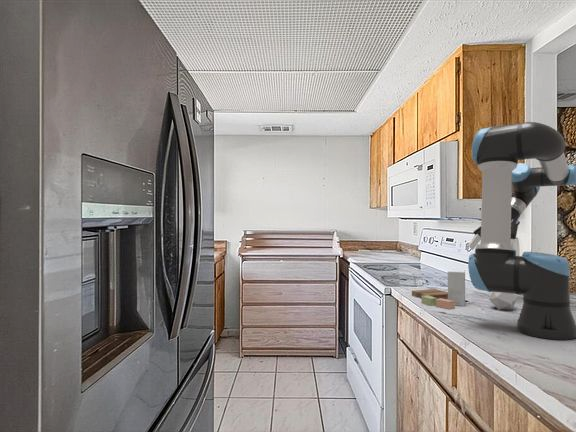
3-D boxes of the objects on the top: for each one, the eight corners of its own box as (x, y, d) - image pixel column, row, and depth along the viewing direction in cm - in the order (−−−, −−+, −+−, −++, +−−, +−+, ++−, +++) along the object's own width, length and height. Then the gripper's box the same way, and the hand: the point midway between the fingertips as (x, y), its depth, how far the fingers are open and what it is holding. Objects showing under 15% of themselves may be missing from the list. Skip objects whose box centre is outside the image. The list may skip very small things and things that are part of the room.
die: (515, 314, 144) (524, 291, 147) (493, 301, 145) (502, 279, 148) (504, 317, 151) (512, 294, 154) (482, 305, 153) (491, 283, 156)
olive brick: (437, 305, 157) (436, 298, 157) (430, 306, 156) (430, 298, 156) (428, 302, 162) (428, 295, 162) (421, 303, 162) (421, 295, 162)
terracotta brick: (454, 308, 151) (454, 300, 151) (449, 310, 150) (449, 301, 150) (440, 306, 156) (440, 298, 156) (436, 307, 155) (435, 299, 155)
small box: (465, 306, 154) (465, 272, 154) (447, 305, 157) (447, 271, 157) (465, 302, 162) (464, 269, 162) (448, 300, 164) (447, 268, 164)
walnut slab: (453, 298, 168) (453, 293, 168) (428, 300, 165) (428, 295, 165) (435, 293, 180) (435, 288, 180) (411, 295, 176) (411, 290, 176)
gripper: (543, 217, 156) (513, 258, 152) (493, 216, 180) (466, 252, 176) (532, 204, 154) (501, 245, 150) (483, 205, 178) (455, 240, 174)
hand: (482, 249), depth 163 cm, fingers open, 13 cm apart
